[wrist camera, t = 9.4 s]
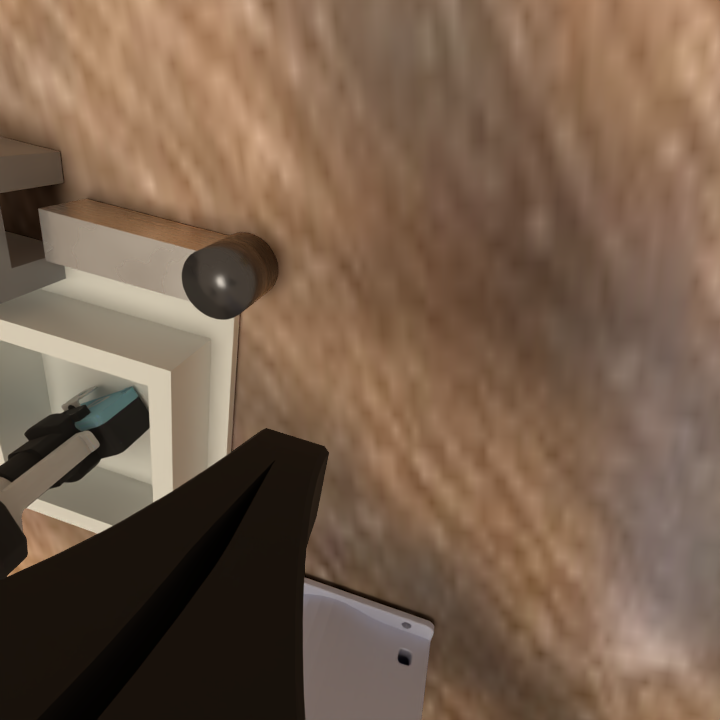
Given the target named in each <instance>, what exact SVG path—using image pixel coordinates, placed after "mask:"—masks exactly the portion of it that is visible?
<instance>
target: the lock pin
mask: <svg viewBox="0 0 720 720" xmlns="http://www.w3.org/2000/svg"><path fill="white" fill-rule="evenodd" d="M38 211H39V218H40V225H41V231H42V238H43V245H44V252H45V258H46V261H48V262H52V263H55V264H59V265H63V266H66V267H70V268H73V269H77V270H80V271H84V272H87V273H91V274H94V275H98V276H101V277H105V278H109V279H112V280H116V281H119V282H123V283H126V284H130V285H133V286H137V287H140V288H144V289H148V290H151V291H155V292H158V293H162V294H165V295H169V296H172V297H176V298H179V299H183V300H186V301H190V302H191V303H192V304H193V305H194V306H195V307H196V308H197V309H198V310H199V311H200V312H202V313H203V314H205V315H207V316H209V317H211V318H214V319H220V320H227V319H231V318H234V317H236V316H238V315H239V314H240V313H242V312H243V311H244V310H245V309H247V308H248V307H249V306H250V305H252V304H253V303H254V302H255V301H257V300H258V299H259V298H261V297H262V296H263V295H264V294H266V293H267V292H268V291H269V290H270V289H271V288H272V287H273V286H274V284H275V282H276V279H277V275H278V265H277V260H276V257H275V255H274V253H273V251H272V250H271V248H270V247H269V246H268V245H267V244H266V242H264V241H263V240H262V239H261V238H259V237H257V236H255V235H253V234H250V233H235V234H233V235H230V236H228V235H224V234H220V233H216V232H213V231H209V230H205V229H201V228H197V227H193V226H190V225H186V224H182V223H178V222H174V221H170V220H167V219H163V218H159V217H155V216H151V215H147V214H144V213H140V212H136V211H132V210H128V209H124V208H121V207H117V206H113V205H109V204H105V203H101V202H98V201H94V200H90V199H82V200H77V201H72V202H67V203H62V204H58V205H53V206H48V207H43V208H38Z"/></svg>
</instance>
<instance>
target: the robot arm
mask: <svg viewBox="0 0 720 720" xmlns="http://www.w3.org/2000/svg"><path fill="white" fill-rule="evenodd" d="M328 455H329V452H328V451H327V449H326V448H325V446H322V445H319V444H315V443H312V442H309V441H306V440H303V439H299V438H296V437H293V436H290V435H287V434H283V433H280V432H277V431H274V430H271V429H267V428H266V429H264V430H262V431H260V432H258V433H257V434H256V435H254V436H253V437H251V438H250V439H249V440H247V441H246V442H245V443H243V444H242V445H240V446H239V447H238V448H236V449H235V450H233V451H232V452H230V453H229V454H228V455H226V456H225V457H223V458H222V459H220V460H219V461H217V462H216V463H215V464H213V465H212V466H210V467H209V468H207V469H206V470H204V471H203V472H201V473H199V474H198V475H196V476H195V477H193V478H192V479H190V480H189V481H187V482H186V483H184V484H183V485H181V486H179V487H178V488H176V489H175V490H173V491H172V492H170V493H168V494H167V495H165V496H163V497H162V498H160V499H158V500H157V501H155V502H153V503H151V504H150V505H148V506H146V507H145V508H143V509H141V510H140V511H138V512H136V513H134V514H133V515H131V516H129V517H128V518H126V519H124V520H122V521H120V522H119V523H117V524H115V525H113V526H111V527H109V528H108V529H106V530H104V531H102V532H100V533H98V534H96V535H94V536H92V537H91V538H89V539H87V540H85V541H83V542H81V543H79V544H77V545H75V546H73V547H71V548H69V549H67V550H65V551H63V552H61V553H59V554H56V555H54V556H52V557H50V558H48V559H46V560H44V561H41V562H39V563H37V564H35V565H33V566H30V567H28V568H26V569H24V570H22V571H19V572H17V573H15V574H13V575H11V576H8V577H6V578H4V579H2V580H0V720H421V718H422V710H423V701H424V693H425V684H426V676H427V667H428V659H429V650H430V641H431V639H432V636H433V634H434V625H433V624H432V623H431V622H430V621H428V620H425V619H423V618H420V617H417V616H414V615H411V614H408V613H405V612H403V611H400V610H397V609H394V608H391V607H388V606H385V605H383V604H380V603H377V602H374V601H371V600H368V599H365V598H363V597H360V596H357V595H354V594H351V593H348V592H345V591H343V590H340V589H337V588H334V587H331V586H328V585H325V584H323V583H320V582H317V581H314V580H311V579H308V578H305V577H304V575H305V558H306V547H307V544H308V540H309V537H310V534H311V531H312V528H313V525H314V522H315V520H316V516H317V511H318V506H319V501H320V496H321V491H322V485H323V480H324V475H325V470H326V465H327V460H328Z"/></svg>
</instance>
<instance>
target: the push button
mask: <svg viewBox="0 0 720 720" xmlns="http://www.w3.org/2000/svg"><path fill="white" fill-rule="evenodd" d="M97 388H98V387H97V386H94V387H91V388H89V389H86V390H84V391H82V392H80V393H79V394H78V395H76V396H75V397H73V398H72V399H70V400H69V401H67V402H66V403H65V404H63V405H61V407H62V409H63V410H64V412H62V413H55V414H51V415H49V416H47V417H45V418H44V419H42V420H41V421H39V422H38V423H36V424H35V425H33V426H32V427H30V428H29V429H28V430H27V431H26V432H25V433H24V435H25V436H26V438H27V439H28V440H29V441H28V442H26V443H25V444H23V445H22V446H21V447H19V448H18V449H16V450H15V451H13V452H12V453H11V454H9V455H8V461H6V462H5V463H3V464H2V465H1V466H0V580H2V579H4V578H6V577H7V575H8V574H9V573H10V572H11V571H12V570H14V569H15V568H16V567H17V566H18V565H19V564H20V563H21V562H22V561H23V560H24V559H25V558H26V557H27V555H28V551H27V539H26V537H25V535H24V534H23V528H22V519H21V517H22V513H23V510H24V509H25V508H27V507H28V506H29V505H30V504H32V503H33V502H34V501H35V500H36V499H37V498H39V497H40V496H41V495H42V494H43V493H45V492H46V491H47V490H48V489H51V488H56V487H59V486H61V485H62V484H63V483H64V482H65V483H72V482H76V481H79V480H80V479H82V478H83V477H84V476H85V475H86V474H87V473H88V472H90V471H91V470H92V469H93V468H94V467H95V466H96V465H97V464H98V463H99V462H100V460H101V459H103V458H107V457H110V456H114V455H118V454H120V453H122V452H124V451H125V450H126V449H127V448H129V447H130V446H131V445H132V444H133V443H134V442H135V441H136V440H137V439H138V438H139V437H141V436H142V435H143V434H144V433H145V432H146V431H147V430H148V429H149V428H150V421H149V411H148V410H147V408H146V407H145V405H144V404H143V402H142V400H141V399H140V397H139V396H138V395H137V393H136V391H135V390H134V388H133V387H132V386H131V387H128V388H125V389H124V390H121V391H118V392H115V393H112V394H109V395H106V396H103V397H100V398H97V399H94V400H91V401H88V402H85V403H82V404H80V403H79V400H80V399H82V398H84V397H85V396H86V395H88V394H89V393H91V392H92V391H94V390H95V389H97Z"/></svg>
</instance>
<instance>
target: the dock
mask: <svg viewBox="0 0 720 720" xmlns="http://www.w3.org/2000/svg"><path fill="white" fill-rule="evenodd" d="M60 183H64V181H63V173H62V165H61V156H60V151H56V150H52V149H48V148H44V147H40V146H36V145H32V144H28V143H24V142H20V141H16V140H12V139H8V138H4V137H0V193H3V192H10V191H16V190H22V189H29V188H35V187H41V186H48V185H54V184H60ZM239 318H240V314H239V315H238V316H236V317H234V318H231V319H227V320H220V319H214V318H211V317H209V316H207V315H205V314H203V313H202V312H200V311H199V310H198V309H197V308H196V307H195V306H194V305H193V304H192V303H191V302H190V301H186V300H183V299H179V298H176V297H172V296H169V295H165V294H162V293H158V292H155V291H151V290H148V289H144V288H140V287H137V286H133V285H130V284H126V283H123V282H119V281H116V280H112V279H109V278H105V277H101V276H98V275H94V274H91V273H87V272H84V271H80V270H77V269H73V268H70V267H66V266H63V265H59V264H55V263H52V262H48V261H46V258H45V252H44V245H43V241H40V240H36V239H32V238H29V237H25V236H22V235H18V234H14V233H11V232H7V231H5V229H4V224H3V219H2V213H1V208H0V466H1V465H2V464H3V463H5V462H6V461H8V455H9V454H11V453H12V452H13V451H15V450H16V449H18V448H19V447H21V446H22V445H23V444H25V443H26V442H28V441H29V440H28V439H27V438H26V436H25V435H24V433H25V432H26V431H27V430H28V429H29V428H30V427H32V426H33V425H35V424H36V423H38V422H39V421H41V420H42V419H44V418H45V417H47V416H49V415H51V414H55V413H62V412H64V410H63V409H62V407H61V405H63V404H65V403H66V402H67V401H69V400H70V399H72V398H73V397H75V396H76V395H78V394H79V393H80V392H82V391H84V390H86V389H89V388H91V387H94V386H97V387H98V388H97V389H95V390H94V391H92V392H91V393H89V394H88V395H86V396H85V397H84V398H82V399H80V400H79V403H80V404H82V403H85V402H88V401H91V400H94V399H97V398H100V397H103V396H106V395H109V394H112V393H115V392H118V391H121V390H124V389H125V388H128V387H131V386H132V387H133V388H134V390H135V391H136V393H137V395H138V396H139V397H140V399H141V400H142V402H143V404H144V405H145V407H146V408H147V410H148V411H149V421H150V428H149V429H148V430H147V431H146V432H145V433H144V434H143V435H142V436H141V437H139V438H138V439H137V440H136V441H135V442H134V443H133V444H132V445H131V446H130V447H129V448H127V449H126V450H125V451H124V452H122V453H120V454H118V455H114V456H110V457H107V458H103V459H101V460H100V462H99V463H98V464H97V465H96V466H95V467H94V468H93V469H92V470H91V471H90V472H88V473H87V474H86V475H85V476H84V477H83V478H82V479H80V480H79V481H76V482H72V483H65V482H64V483H63V484H62V485H61V486H59V487H56V488H51V489H48V490H47V491H46V492H45V493H43V494H42V495H41V496H40V497H39V498H37V499H36V500H35V501H34V502H33V503H32V504H30V505H29V506H28V507H27V508H28V509H31V510H34V511H36V512H39V513H42V514H45V515H47V516H50V517H53V518H56V519H59V520H61V521H64V522H67V523H70V524H73V525H75V526H78V527H81V528H84V529H87V530H89V531H92V532H95V533H100V532H102V531H104V530H106V529H108V528H109V527H111V526H113V525H115V524H117V523H119V522H120V521H122V520H124V519H126V518H128V517H129V516H131V515H133V514H134V513H136V512H138V511H140V510H141V509H143V508H145V507H146V506H148V505H150V504H151V503H153V502H155V501H157V500H158V499H160V498H162V497H163V496H165V495H167V494H168V493H170V492H172V491H173V490H175V489H176V488H178V487H179V486H181V485H183V484H184V483H186V482H187V481H189V480H190V479H192V478H193V477H195V476H196V475H198V474H199V473H201V472H203V471H204V470H206V469H207V468H209V467H210V466H212V465H213V464H215V463H216V462H217V461H219V460H220V459H222V458H223V457H225V456H226V455H228V454H229V453H230V452H231V446H232V430H233V414H234V398H235V382H236V366H237V350H238V334H239Z"/></svg>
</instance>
